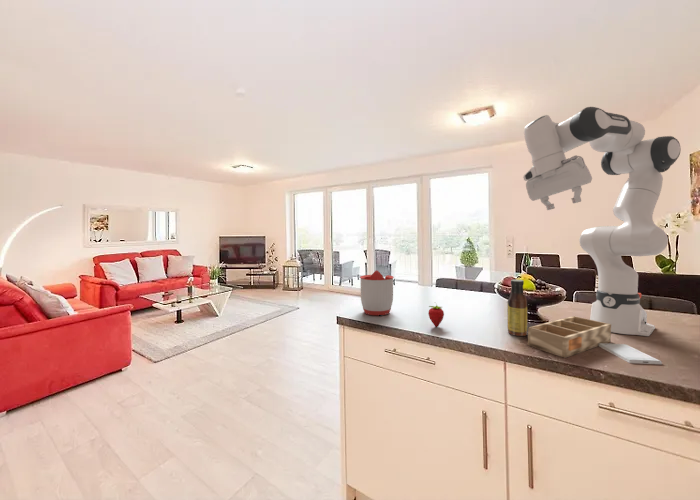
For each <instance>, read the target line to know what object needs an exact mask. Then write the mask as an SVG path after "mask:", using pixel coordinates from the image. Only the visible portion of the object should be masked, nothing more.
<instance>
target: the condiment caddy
mask: <svg viewBox="0 0 700 500" xmlns="http://www.w3.org/2000/svg"><path fill="white" fill-rule="evenodd" d="M611 336H612V332H611V324H608V323H603V322H599V321H594V320H590V318H586V317H585V318H584V317H581V316H576V315H575V316H574V315H573V316H568V317H564V318H562V319H561V318H560V319H557V320H552V321H548V322H544V323H540V324H537V325H533V326H529V327H528V326H527V346H529V347H532V348H535V349H537V350H541V351H543V352H546V353H549V354H552V355H556V356H557V357H561V358H564V359H566V358H569V357H571V356H575V355H577V354H581V353H583V352H586V351H588V350H591V349H594V348H598V347H599V344H600V343H607V344H609V343H611V338H612V337H611Z"/></svg>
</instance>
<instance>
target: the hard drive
mask: <svg viewBox="0 0 700 500" xmlns="http://www.w3.org/2000/svg"><path fill="white" fill-rule="evenodd" d="M598 347H599V348H601V349H602V350H605V351H606V352H608V353H610V354H612V355H614V356H616V357H617V358H620V359H621V360H623V361H626V362H627V363H629V364H641V365H643V364H644V365H663V361H661V360H660V359H658V358H655V357H653V356H651V355H649V354H647V353H645V352H642V351H640V350H639V349H637V348H634V347H632V346H630V345H628V344H627V343H626V344H625V343H600V344H599V346H598Z"/></svg>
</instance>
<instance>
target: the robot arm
mask: <svg viewBox="0 0 700 500" xmlns="http://www.w3.org/2000/svg"><path fill="white" fill-rule="evenodd" d="M523 129H524V130H523V134H524V140H525V145H526V147H527V151H528V153H529V154H530V156H531V164H532V165H533V166H532V167H530V169H529V170H527V172H526V173H525V174H524V175H523V177H522V178H523V181H525V182H526V183H525V187H526V191H527V194H528V198H529V199H530V200H531V201H538V200H540V202H541V204H543V205H544V206H545V208H546V210H547V211H550V210H551V211H552V210H554V209H555V204H554V203H551V202H550V196H553V195H557V194H559V193H562V192H565V191H569V190H571V191H572V193H573V197H572V198H570V199H571V201H572V204H578V203H581V202H582V198H581V194H582V191H583V188H582V186H585V185H588V184H590V183H591V182H592V180H593V177H592V174H591V172H590V170H589V168H588V166H587V165H586V162H585V160H584V157H583V156H580V155H573V156H571V157H570V158H566V154H565V153H567V152H570V151H571V150H574V149H576V148H579V147H581V146H583V145H585V144H587V143H589V146H590V147H591V149H592V150H594V151H597V152H599V153H604V154H603V155H602V157H601V159H600V165H601V169H602V171H603V172H604V173H606V175H609V176H620V175H625V174H626V175H627V174H628V178H627V180H626V181H625V183H624V184H623V186H622V188H620V189H621V190H620V192H619V193H618V196H617V199H616V201H615V203H614V205H613V208H612V212H613V215H614V216H615V218H617V219H618V220H620V221H623V223H622V224H621V225H607V226H606V225H603V226H594V227H589V228H586V229H584V230H583V231H582V232H581V234H580V236H579V239H578V241H579V246H580V247H581V249H582V250H583V251H584V252H586V253H587V254H589V256H590V257H591V258H592V260H593V261H594V264H595V266H596V269H597V278H598V279H597V282H598V283H597V284H598V285H597V290H596V292H595V296H596V297H595V299H596V300H595V301H594V302H591V303H592V304H591V309H590V317H589V319H590V320H594V321H599V322H603V323H608V324H611V333H614V334H621V335H633V336H634V335H637V336H642V337H643V336H644V337H650V336H651V335H652V333H653V331H654V330H655V329H656V326H655V325H654V324H651V323H647V321H648V314H647V313H648V312H647V311H646V310H645V309H644V308H643V307H642V305H641V304H640V303H641V298H642V297H643V296H642V295H643V294H642V293H641V292H638V288H639V273H638V272H637V271H636V269H635V268H633V267H631V266H630V265H627V264H626V263H625V262H624V260H623V258H622V256H627V257H628V256H629V257H630V256H631V257H648V256H649V257H650V256H656V255H660V254H661V253H663V251H665V249H666V248H667V246H668V244H669V243H668V242H669V238H668V235H667V233H666V231H664V229H662V228H661V227H660V226H658V225H656V224H655V222H654V219H653V215H654V212H655V208H656V206H657V202H658V200H659V198H660V195H661V191H662V187H663V180H664V178H663V175H662V173H665V172H667V171H668V170H669V169H670V168H671V166H672V165H674V163H676V161H677V160H678V159H679V157H680V156H681V155H680V154H681V144H680V142H679V140H678V139H677V138H676V137H674V136H671V135H667V136H665V135H664V136H657V137H656V138H650V139H644V137H645V135H646V130H645V127H644V126H643V124H641V122H637V121H635V120H630V119H629V118H628V117H627V116H625V115H622V114H617V113H613V112H607V111H606V110H604V109H602V108H600V107H596V106H587V107H586V106H585V108H583V109H581V110H580V111H578V112H577V113H575V114H574V115H572V116H570V117H568V118H567V119H565V120H564V121H562V122H560V123H559V122H554V121H553V120H552V118H551V116H550V115H548V114H544V115H542V116H540V117H538V118H537V119H534V120H533V121H531V122H530V123H528V124H527V125H526V126H524V128H523ZM643 139H644V140H643Z"/></svg>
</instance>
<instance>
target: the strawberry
mask: <svg viewBox="0 0 700 500" xmlns="http://www.w3.org/2000/svg"><path fill="white" fill-rule="evenodd" d="M428 307H429V308H430V309H429V310H428V318H429V319H430V322H431V323H432V324H433V325H434V327H436V328H438V327H439V325H440V324H441V323H442V321H443V319H444V316H445V312H444V310H443V309H442V308H443V307H442V306H438V304H437V303H435V305H429V306H428Z"/></svg>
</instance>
